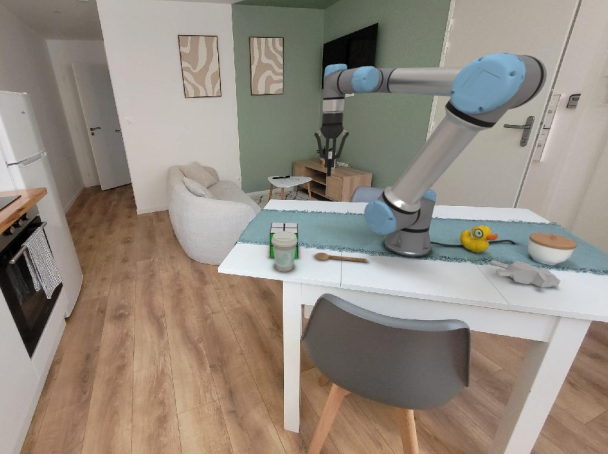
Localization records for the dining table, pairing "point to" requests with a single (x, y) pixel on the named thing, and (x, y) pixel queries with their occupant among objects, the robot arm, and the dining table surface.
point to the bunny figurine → (527, 274)
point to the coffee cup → (284, 250)
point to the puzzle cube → (283, 227)
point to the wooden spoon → (337, 257)
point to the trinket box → (550, 248)
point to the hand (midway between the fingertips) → (328, 175)
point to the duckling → (477, 238)
